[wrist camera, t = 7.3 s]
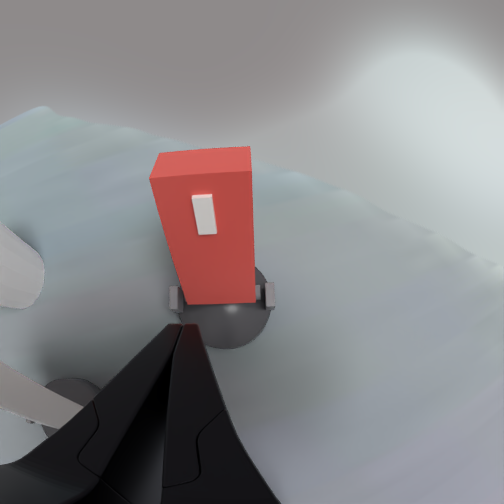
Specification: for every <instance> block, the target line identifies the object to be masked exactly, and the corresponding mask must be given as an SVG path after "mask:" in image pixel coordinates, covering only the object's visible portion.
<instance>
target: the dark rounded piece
mask: <svg viewBox="0 0 504 504" xmlns="http://www.w3.org/2000/svg"><path fill="white" fill-rule="evenodd" d="M255 285H260V295H261V300H256V303H230V304H191V305H188V304H187V302H185V299H184V293H183V290H182V287H181V286H180V288H179V287H178V286H170V292H169V309H170V310H172V311H173V312H175V313H179V316H180V319H181V321H182V323H183V325H184V324H198V325H199V328H200V331H201V334H202V337H203V341H204V344H205V345H208V346H211V347H215V348H221V349H233V348H238V347H241V346H244V345H246V344H248V343H250V342H251V341H252V340H254V339H255V338H256V337H257V336H258V335H259V334H260V333H261V332H262V330H263V329H264V327H265V325H266V323H267V321H268V318H269V315H270V311H271V310H274V308H275V294H274V282H272V283H267V281H266V279H265V277H264V276H263V275H262V273H261V272H260V271H259V270H258V269H257V268H256V267H255Z"/></svg>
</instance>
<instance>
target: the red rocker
mask: <svg viewBox="0 0 504 504" xmlns="http://www.w3.org/2000/svg"><path fill="white" fill-rule="evenodd" d="M149 180H150V183H151V187H152V191H153V194H154V198H155V202H156V205H157V209H158V212H159V216H160V219H161V223H162V226H163V230H164V233H165V236H166V240H167V243H168V246H169V249H170V253H171V256H172V259H173V262H174V265H175V268H176V271H177V275H178V278H179V281H180V284H181V287H182V290H183V293H184V299H185V302H187V304H188V305H191V304H230V303H256V300H261V295H260V285H255V260H254V228H253V197H252V168H251V152H250V146H248V147H229V148H212V149H198V150H187V151H176V152H166V153H159V155H158V158H157V160H156V163H155V165H154V167H153V170H152V172H151V175H150V177H149Z"/></svg>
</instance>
